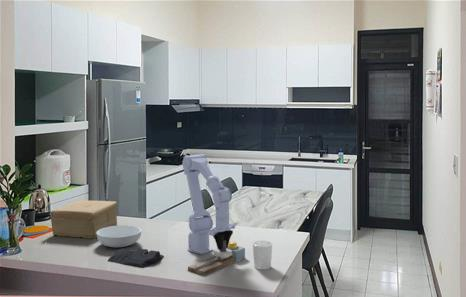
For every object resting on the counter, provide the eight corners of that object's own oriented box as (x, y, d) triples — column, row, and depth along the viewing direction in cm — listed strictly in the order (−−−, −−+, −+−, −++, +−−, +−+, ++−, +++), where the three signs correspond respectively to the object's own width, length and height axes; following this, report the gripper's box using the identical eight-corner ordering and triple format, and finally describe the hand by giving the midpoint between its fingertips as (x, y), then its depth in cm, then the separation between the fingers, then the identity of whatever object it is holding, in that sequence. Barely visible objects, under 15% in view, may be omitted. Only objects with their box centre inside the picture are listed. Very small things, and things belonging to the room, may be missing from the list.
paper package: (78, 222, 266) (77, 198, 265) (120, 225, 260) (119, 200, 259) (49, 236, 240) (47, 210, 239) (94, 240, 234) (93, 212, 233)
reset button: (226, 252, 206) (226, 243, 206) (232, 250, 209) (232, 241, 208) (233, 253, 204) (233, 244, 203) (238, 251, 207) (238, 242, 206)
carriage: (213, 257, 202) (213, 240, 201) (221, 254, 205) (221, 237, 205) (224, 260, 198) (224, 243, 197) (232, 257, 202) (231, 240, 201)
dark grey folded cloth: (126, 251, 217) (126, 241, 217) (167, 258, 208) (166, 248, 207) (104, 262, 203) (103, 251, 203) (146, 270, 194) (146, 258, 193)
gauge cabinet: (220, 257, 207) (220, 247, 207) (229, 253, 212) (229, 243, 211) (236, 261, 202) (236, 251, 201) (244, 257, 206) (244, 247, 206)
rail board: (187, 270, 192) (187, 264, 192) (220, 257, 207) (220, 251, 207) (203, 275, 186) (203, 269, 186) (236, 261, 202) (236, 255, 201)
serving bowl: (131, 253, 214) (130, 238, 213) (88, 250, 218) (88, 236, 217) (148, 239, 234) (148, 225, 233) (109, 237, 238) (108, 224, 238)
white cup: (270, 263, 199) (271, 240, 198) (273, 270, 191) (273, 246, 190) (252, 263, 199) (252, 240, 198) (253, 270, 191) (253, 246, 190)
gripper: (218, 222, 191) (218, 254, 193) (240, 215, 203) (240, 245, 204) (205, 219, 196) (205, 251, 198) (228, 212, 207) (228, 242, 209)
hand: (222, 248), depth 201 cm, fingers closed on carriage, 3 cm apart
